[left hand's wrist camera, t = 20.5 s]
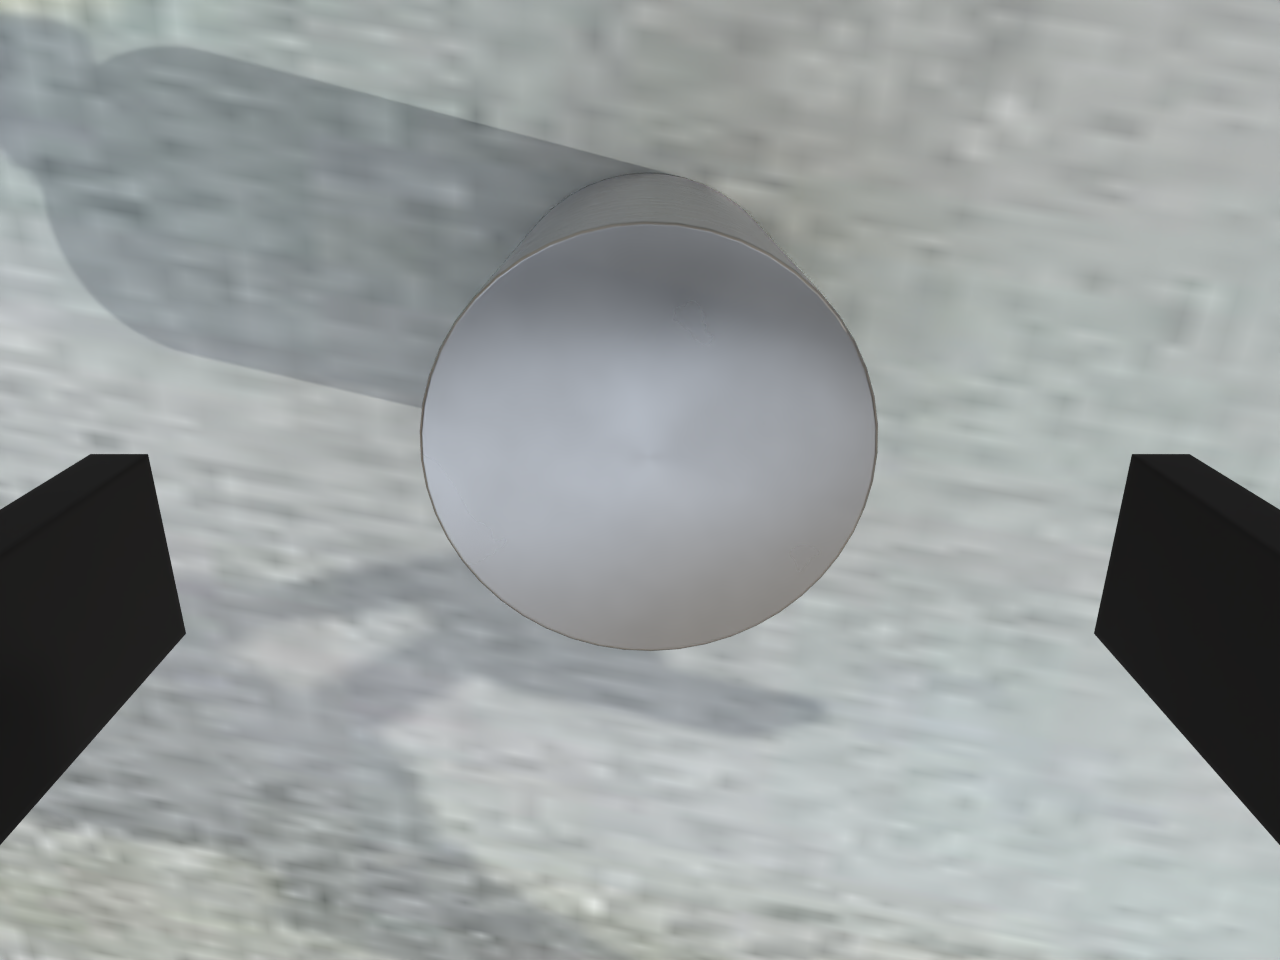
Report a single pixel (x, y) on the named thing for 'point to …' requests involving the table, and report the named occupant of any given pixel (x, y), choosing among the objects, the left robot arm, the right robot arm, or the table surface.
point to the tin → (648, 421)
